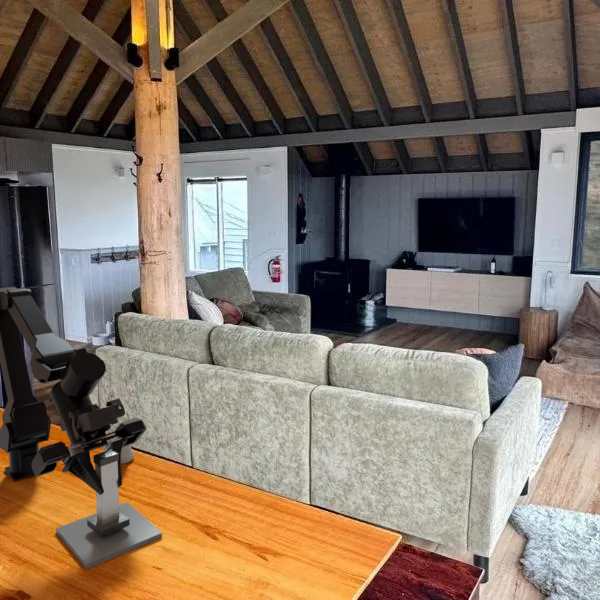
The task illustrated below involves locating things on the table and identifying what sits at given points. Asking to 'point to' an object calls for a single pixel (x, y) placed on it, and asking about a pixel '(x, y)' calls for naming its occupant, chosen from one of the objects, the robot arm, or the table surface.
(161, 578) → the table surface
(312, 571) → the table surface
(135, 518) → the plate
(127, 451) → the rook chess piece
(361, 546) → the table surface
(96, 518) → the tray topped pillar
